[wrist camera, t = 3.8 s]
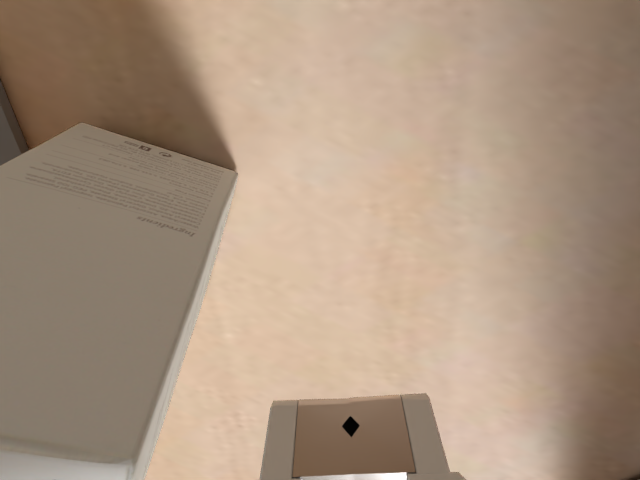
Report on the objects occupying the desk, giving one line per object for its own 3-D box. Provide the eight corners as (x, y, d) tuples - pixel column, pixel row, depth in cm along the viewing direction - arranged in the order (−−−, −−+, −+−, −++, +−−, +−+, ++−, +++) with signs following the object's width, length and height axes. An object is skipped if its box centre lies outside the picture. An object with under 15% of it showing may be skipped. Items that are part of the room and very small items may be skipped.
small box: (79, 117, 16) (-428, 371, 5) (241, 170, 18) (145, 466, 6) (61, 285, 20) (-258, 663, 8) (198, 318, 21) (84, 684, 10)
